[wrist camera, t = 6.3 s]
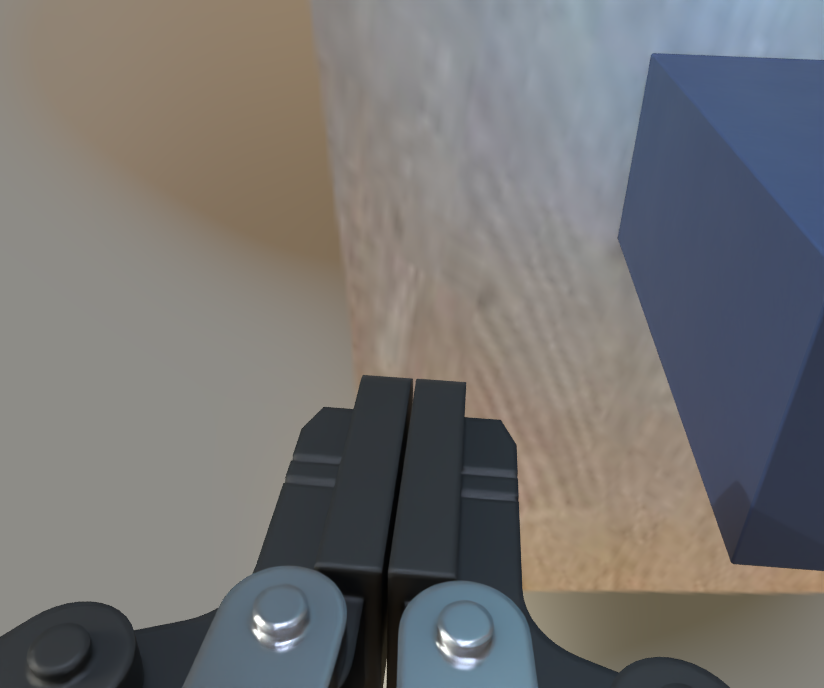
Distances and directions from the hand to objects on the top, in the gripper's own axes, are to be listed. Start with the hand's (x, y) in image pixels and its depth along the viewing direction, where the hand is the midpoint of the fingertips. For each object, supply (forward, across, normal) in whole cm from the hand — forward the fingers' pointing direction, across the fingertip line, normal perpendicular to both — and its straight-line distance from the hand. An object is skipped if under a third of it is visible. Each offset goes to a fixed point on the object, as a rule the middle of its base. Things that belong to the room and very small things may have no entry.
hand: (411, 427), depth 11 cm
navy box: (+13, -8, 0) cm, 16 cm away
